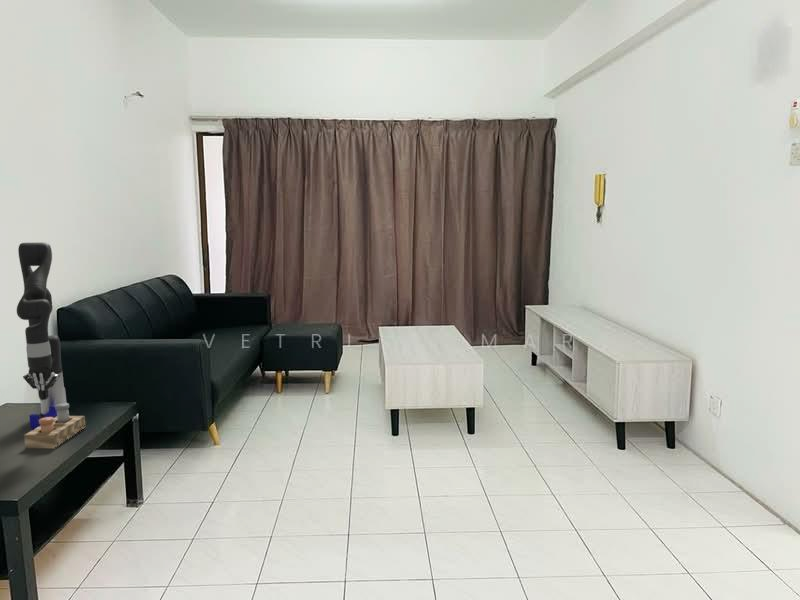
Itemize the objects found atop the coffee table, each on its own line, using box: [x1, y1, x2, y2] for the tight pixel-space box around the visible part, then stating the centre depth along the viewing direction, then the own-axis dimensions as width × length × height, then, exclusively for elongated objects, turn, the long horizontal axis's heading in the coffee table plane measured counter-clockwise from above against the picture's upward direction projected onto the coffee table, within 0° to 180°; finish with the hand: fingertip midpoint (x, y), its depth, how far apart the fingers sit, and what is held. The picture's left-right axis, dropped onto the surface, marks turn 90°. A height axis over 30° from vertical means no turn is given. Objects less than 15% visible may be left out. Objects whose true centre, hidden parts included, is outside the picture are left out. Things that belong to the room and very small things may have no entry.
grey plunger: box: [55, 402, 70, 423], centre depth 231 cm, size 5×5×8 cm
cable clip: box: [28, 405, 57, 430], centre depth 241 cm, size 12×4×6 cm, turn 170°
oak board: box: [23, 415, 87, 449], centre depth 227 cm, size 20×11×5 cm, turn 177°
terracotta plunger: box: [39, 417, 54, 433], centre depth 222 cm, size 5×5×8 cm
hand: (43, 399), depth 220 cm, fingers closed
